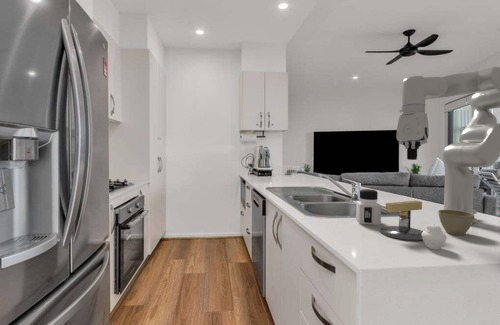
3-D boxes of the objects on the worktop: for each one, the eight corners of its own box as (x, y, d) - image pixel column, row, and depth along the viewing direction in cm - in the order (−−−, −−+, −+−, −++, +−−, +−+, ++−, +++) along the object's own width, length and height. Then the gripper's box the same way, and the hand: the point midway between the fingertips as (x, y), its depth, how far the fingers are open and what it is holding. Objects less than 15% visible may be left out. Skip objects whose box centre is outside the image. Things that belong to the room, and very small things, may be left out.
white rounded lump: (428, 251, 78) (429, 226, 77) (416, 244, 84) (417, 221, 83) (451, 252, 77) (452, 227, 77) (437, 244, 83) (438, 221, 83)
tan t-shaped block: (385, 218, 92) (385, 203, 92) (415, 215, 97) (415, 200, 97) (391, 220, 90) (391, 204, 90) (421, 216, 95) (422, 201, 95)
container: (380, 225, 105) (381, 191, 105) (359, 224, 107) (360, 190, 106) (375, 220, 113) (376, 188, 113) (355, 219, 115) (356, 188, 114)
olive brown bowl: (430, 230, 98) (431, 210, 98) (450, 228, 102) (451, 208, 102) (460, 239, 89) (461, 217, 89) (480, 235, 93) (481, 214, 92)
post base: (399, 227, 103) (399, 200, 103) (437, 237, 90) (438, 207, 90) (371, 231, 97) (372, 203, 97) (408, 243, 84) (409, 210, 84)
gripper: (388, 112, 109) (387, 159, 110) (426, 107, 95) (424, 160, 96) (402, 113, 112) (400, 159, 113) (440, 108, 98) (438, 160, 99)
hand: (411, 159), depth 104 cm, fingers closed
